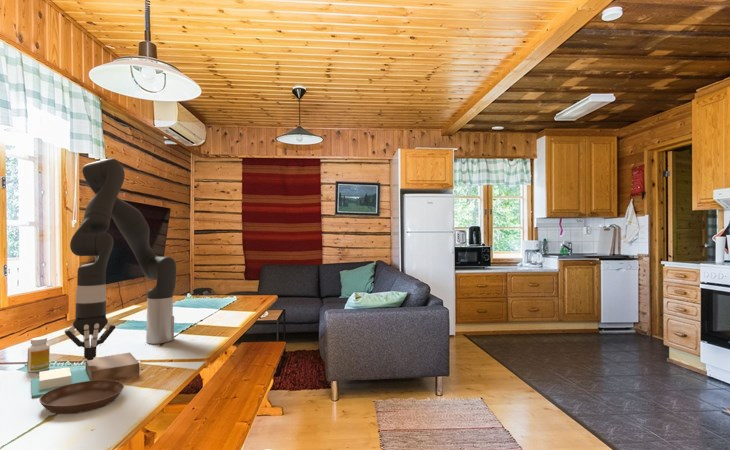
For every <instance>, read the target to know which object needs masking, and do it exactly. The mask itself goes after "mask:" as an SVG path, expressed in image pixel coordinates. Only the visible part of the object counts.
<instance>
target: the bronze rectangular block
mask: <svg viewBox="0 0 730 450" xmlns="http://www.w3.org/2000/svg"><path fill="white" fill-rule="evenodd" d="M84 370H85V371H86V373H87V375H88V377H89V380H90V381H94V380H112V381H117V382H120V381H124V380H129V379H134V378H140V362H139V360H137V358H136V357H135V356H133V354H132V352H125V353H118V354H112V355H111V354H110V355H106V356H100V357H94V358H93V360H88V361H87V359H85V369H84Z"/></svg>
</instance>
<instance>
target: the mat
mask: <svg viewBox="0 0 730 450" xmlns="http://www.w3.org/2000/svg"><path fill="white" fill-rule="evenodd" d="M70 372H71V384H74V383H79V382H85V381H90V380H89V377H88V375H87V373H86V371H85V369H82V370H75V371H70ZM64 386H65V385H64ZM30 387H31V388H30V389H31V399H35V398H40V397H41V396H42V395H43V394H45V393H47V392H49V391H51V390H53V389H56V388H59V387H62V386H58V387H53V388H47V389H42V390H39V377H33V378H31V379H30Z"/></svg>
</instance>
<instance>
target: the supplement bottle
mask: <svg viewBox="0 0 730 450" xmlns="http://www.w3.org/2000/svg"><path fill="white" fill-rule="evenodd" d="M30 344H31V345H29V346H28V348H27V363H26V364H27V367H26V368H27V372H28V373H39V372H42V371H48V370H49V368H50V350H51V349H50V344H48V337H46V336H39V337H38V336H37V337H33V338H31V339H30Z"/></svg>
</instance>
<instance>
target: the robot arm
mask: <svg viewBox="0 0 730 450" xmlns="http://www.w3.org/2000/svg"><path fill="white" fill-rule="evenodd" d="M81 171H82V175H83V178H84V180H85V182H86V184H87V185H88V186H89V188H90V190H92V192H93V193H94V196H93V197H92V198H91V199H90V201H89V202H88V203H87V205H86V208H85V210H84V215H83V219H82V222H81V224H80V226H78V228H77V229H76V230H75V232H74V233H73V235H72V237H71V240H70V243H69V247H70V251H71V252H72V253H73V254H74V255H75V256H76V257H77V256H78V257H98V258H97V260H96V261H95V262H91V263H87V264H82V265H80V266H79V267H78V268H77V278H76V279H77V280H76V281H77V282H76V283H77V284H76V289H75V290H76V291H75V311H74V313H75V315H74V316H75V317H74V318H75V319H74V321H73V323H72V326H70V327H68V329H67V328H66V329H65V330H64V334H65V336H67V337H68V338H69V340H71V341H72V342H73V344H75V345H76V346H77V347H79V348H80V347H81V348H83V349H84V350H83V357H84V359H85V360H86V359H87V361H88V360H93V358H97V347H98V346H99V345H103V344H104V342H105V341H106V340H107V339H108V338H109V336H110V335H111V334H112V333H113V332H114V331H115V329H116V325H115V324H112V323H110V322H109V321H108V318H107V297H108V295H107V287H106V283H107V282H106V279H107V275H106V274H107V267H108V262H109V259H110V256H111V254H112V252H113V248H114V245H115V244H114V243H115V242H114V238H113V236H112V235H111V234H110V233H109V232H107V231H108V230H109V229H110V226H111V225H110V224H111V219H112V220H113V222H114V224H115V226H116V227H117V230H118V231H119V232H120V234H121V236H122V237H123V238H124V240H125V241H126V243H127V244H128V246H129V248H130V249H131V251H132V253H133V255H134V256H135V259H136V260H137V263H138V265H139V267H140V269H141V271H142V273H143V275H144V276H145V277H146V278H147V279H150V280H155V281H156V284H155V286H154V287H153V288H151V289H148V290H147V293H146V332H145V333H146V335H145V337H146V341H145V342H146V343H147V344H152V345H153V344H154V345H155V344H157V345H158V344H164V343H168V342H172V341H174V340H175V316H174V291H175V289H176V281H177V264H176V261H175V260H174V258H172V257H170V256H158V255H156V253H155V252H154V251H153V248H152V247H151V245H150V231H151V230H150V226H149V224H148V222H147V220H146V219H145V216H144V215H143V213H142V212H141V211H140V210H139V209H138V208H136V207H135V206H134V205H131V204H130V203H127V202H126V201H124V200H123V199H121V198H119V197H118V196H119V193H120V191H121V189H122V186H123V184H124V182H125V169H124V167H123V165H122V164H121V163H120V161H119V160H118V159H116V158H106V159H102V160H97V161H93V162H89V163H86V164H85V165H83V166H82V170H81ZM103 329H105V330H104V332H103V333H102V334H101V335H100V337H99V334H100V333H101V331H103ZM76 331H77V332H78V333H79V334H80V335H81V336H82V340H83V341H82V340H80V339H79V338H78V337H77V336H76V335H75V334H76ZM90 337H91V339H90Z"/></svg>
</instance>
